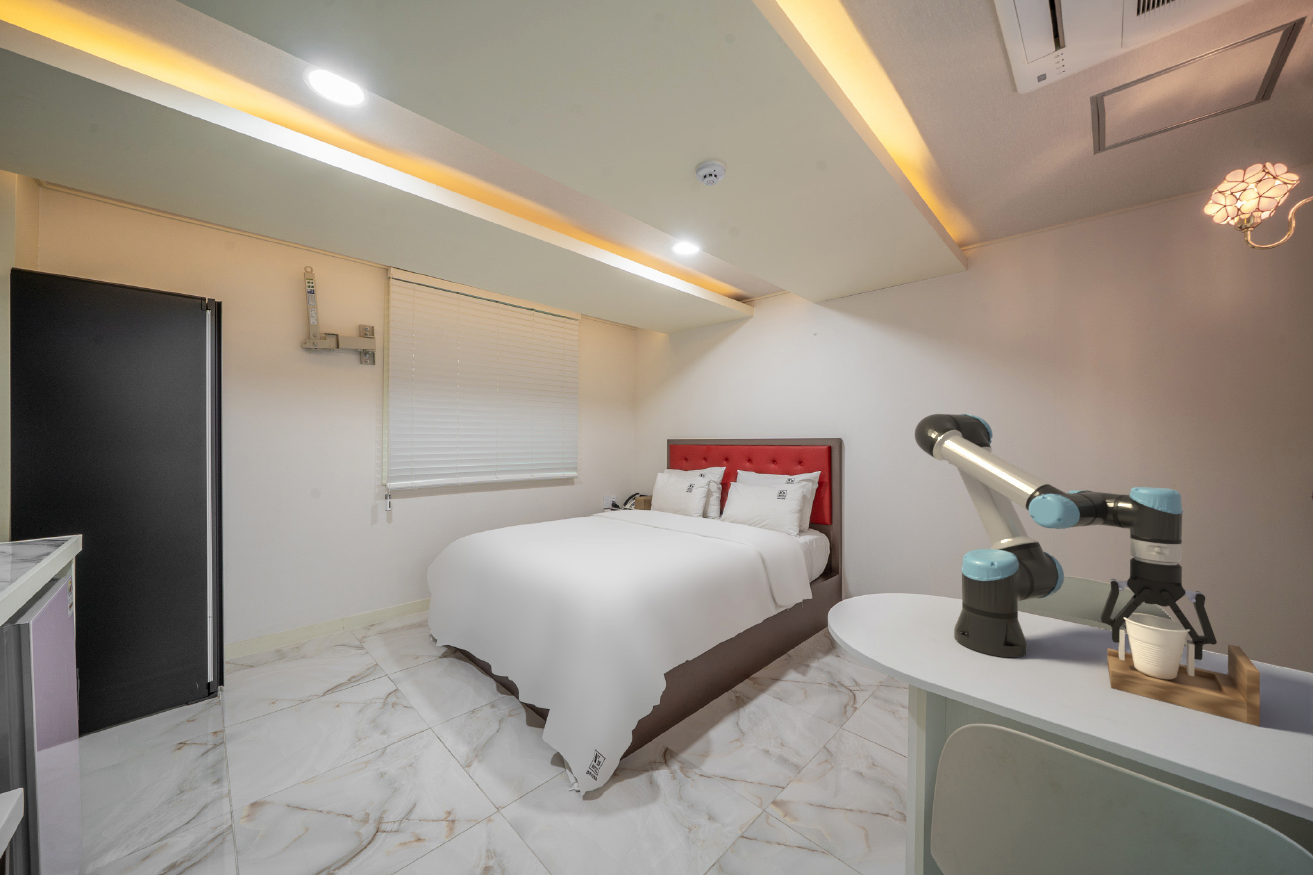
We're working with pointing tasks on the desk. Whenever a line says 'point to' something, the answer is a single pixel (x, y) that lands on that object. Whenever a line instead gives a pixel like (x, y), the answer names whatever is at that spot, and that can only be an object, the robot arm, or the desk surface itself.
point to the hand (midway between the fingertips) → (1154, 665)
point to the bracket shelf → (1196, 686)
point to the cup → (1156, 644)
